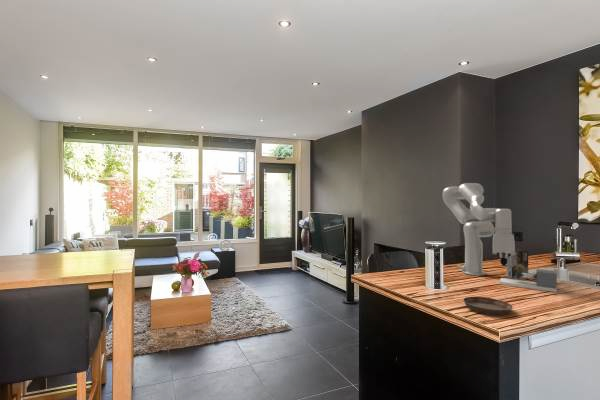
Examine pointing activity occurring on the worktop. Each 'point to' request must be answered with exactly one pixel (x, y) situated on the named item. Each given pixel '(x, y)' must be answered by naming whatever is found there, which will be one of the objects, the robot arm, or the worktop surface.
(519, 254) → the coffee box
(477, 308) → the plant saucer
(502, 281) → the base board
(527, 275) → the shaft
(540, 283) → the block
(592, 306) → the worktop surface
